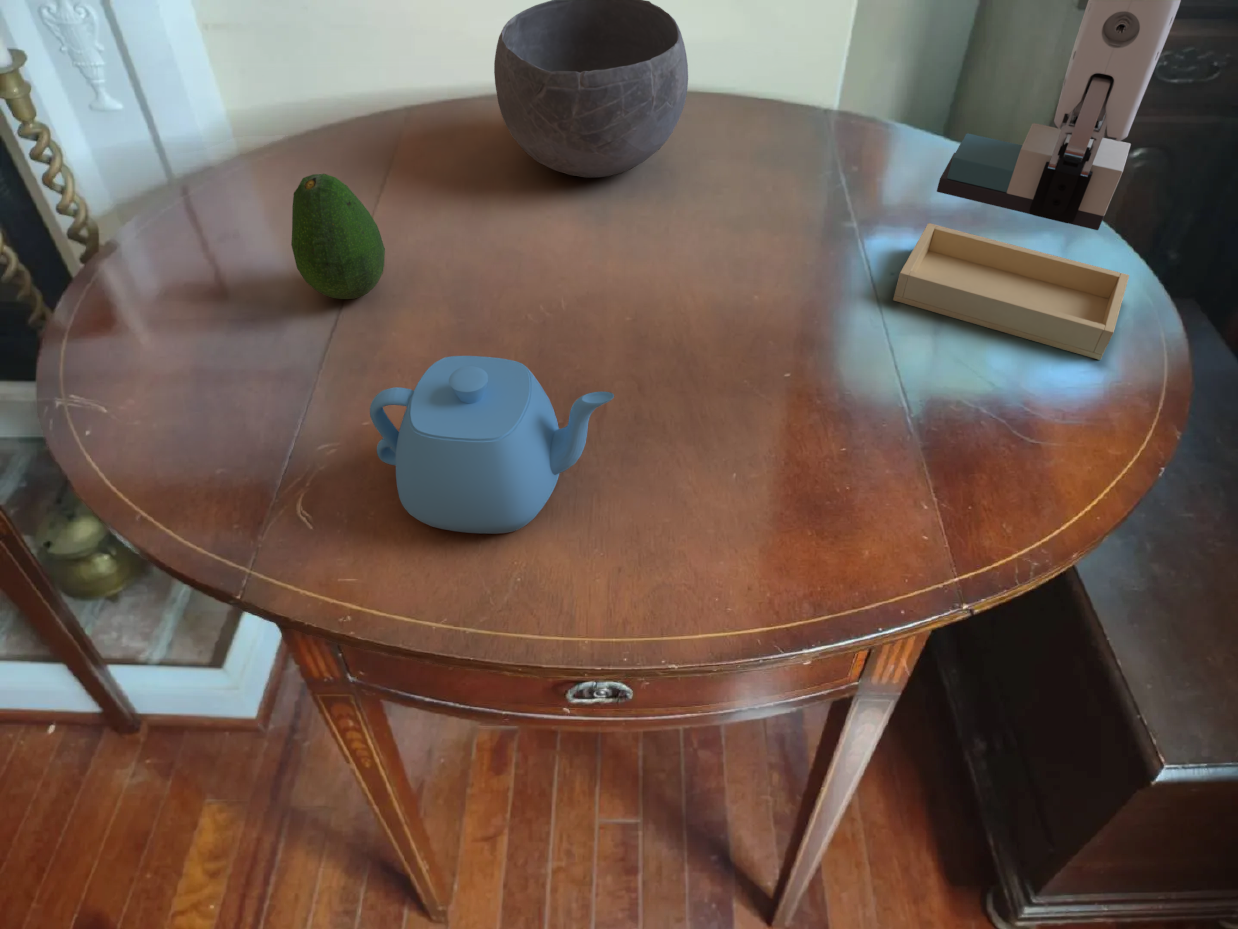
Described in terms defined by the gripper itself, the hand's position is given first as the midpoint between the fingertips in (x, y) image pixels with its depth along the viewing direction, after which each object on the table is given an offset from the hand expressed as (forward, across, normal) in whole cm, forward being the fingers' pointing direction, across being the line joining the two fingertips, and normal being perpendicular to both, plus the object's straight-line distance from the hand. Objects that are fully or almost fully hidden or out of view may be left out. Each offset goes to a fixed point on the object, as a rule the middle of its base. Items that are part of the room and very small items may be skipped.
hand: (1057, 197), depth 72 cm
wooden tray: (+16, +8, +1) cm, 18 cm away
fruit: (+16, -19, +57) cm, 62 cm away
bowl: (+16, +14, +48) cm, 53 cm away
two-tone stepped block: (+1, 0, +3) cm, 3 cm away
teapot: (+16, -33, +31) cm, 48 cm away
